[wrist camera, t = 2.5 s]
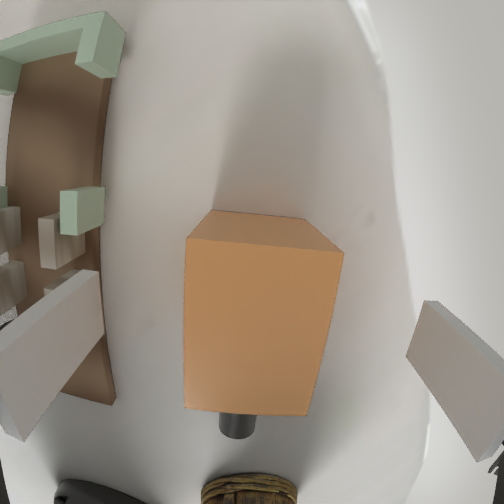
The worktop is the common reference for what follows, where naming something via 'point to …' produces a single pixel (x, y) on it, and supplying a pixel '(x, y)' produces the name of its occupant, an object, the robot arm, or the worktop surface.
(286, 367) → the plug
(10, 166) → the board
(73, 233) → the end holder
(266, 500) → the wooden mug
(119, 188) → the worktop surface
